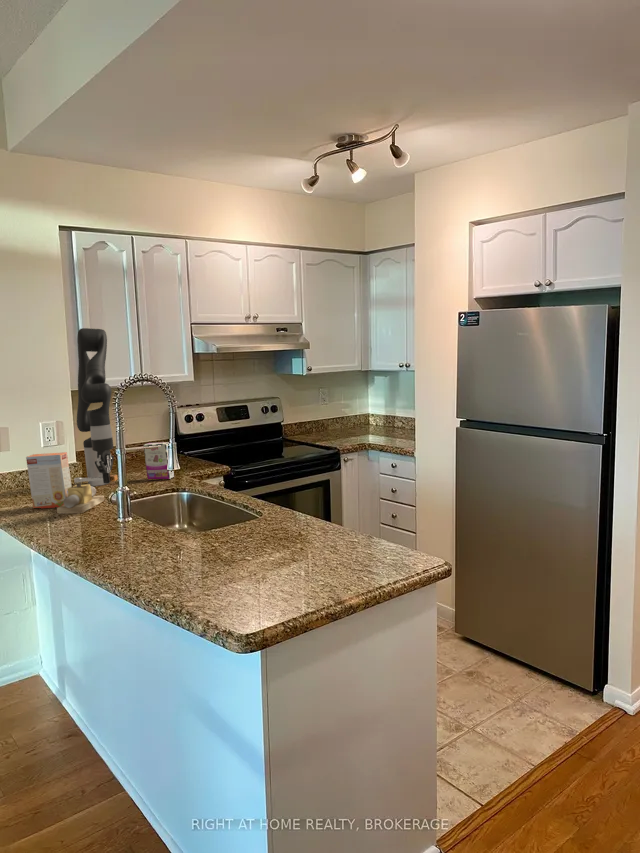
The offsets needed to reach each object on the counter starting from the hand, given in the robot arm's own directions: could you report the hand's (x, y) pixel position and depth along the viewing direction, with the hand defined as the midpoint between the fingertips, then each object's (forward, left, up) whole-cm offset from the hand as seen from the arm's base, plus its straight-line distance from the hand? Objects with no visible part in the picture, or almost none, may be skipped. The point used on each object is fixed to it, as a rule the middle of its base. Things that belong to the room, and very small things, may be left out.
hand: (107, 482), depth 236 cm
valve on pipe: (-2, -13, -10) cm, 16 cm away
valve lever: (-3, -6, 0) cm, 7 cm away
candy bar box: (-46, +1, -10) cm, 47 cm away
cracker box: (-5, -26, -10) cm, 28 cm away
